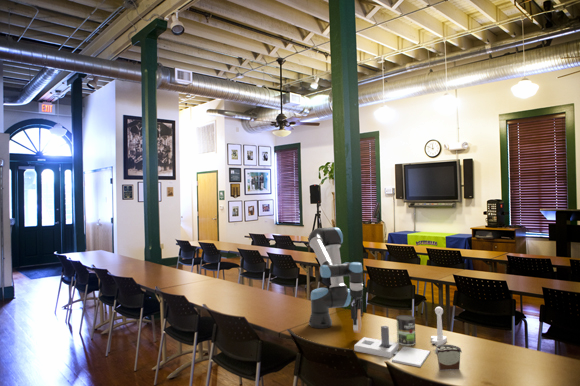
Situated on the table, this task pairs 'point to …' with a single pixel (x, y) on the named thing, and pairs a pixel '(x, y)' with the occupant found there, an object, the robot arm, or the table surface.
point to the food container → (448, 357)
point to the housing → (375, 347)
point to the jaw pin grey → (385, 336)
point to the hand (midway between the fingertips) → (357, 328)
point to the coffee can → (406, 330)
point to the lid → (411, 356)
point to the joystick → (439, 329)
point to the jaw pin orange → (358, 322)
